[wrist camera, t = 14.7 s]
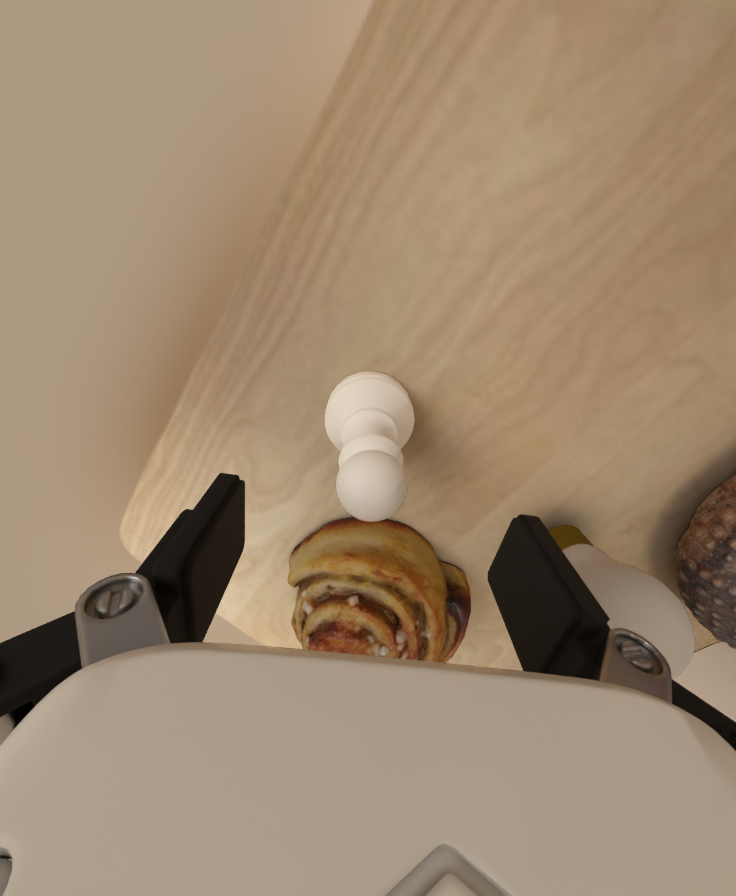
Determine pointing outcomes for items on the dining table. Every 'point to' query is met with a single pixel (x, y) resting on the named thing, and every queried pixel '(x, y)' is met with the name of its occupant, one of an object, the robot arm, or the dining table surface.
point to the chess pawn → (370, 443)
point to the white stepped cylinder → (713, 677)
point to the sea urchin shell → (711, 563)
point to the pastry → (377, 593)
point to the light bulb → (631, 598)
